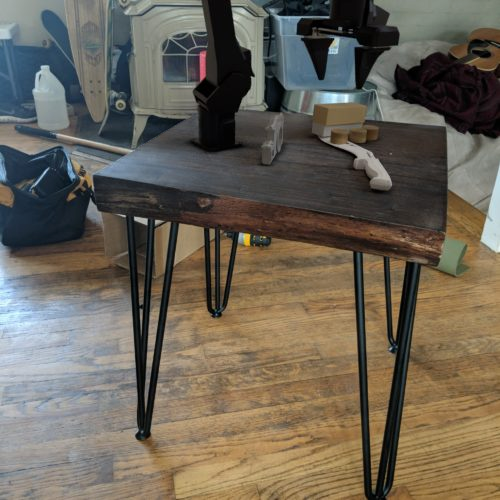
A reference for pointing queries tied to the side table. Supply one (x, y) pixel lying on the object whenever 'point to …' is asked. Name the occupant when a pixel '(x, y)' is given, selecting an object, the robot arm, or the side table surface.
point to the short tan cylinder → (357, 135)
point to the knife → (366, 164)
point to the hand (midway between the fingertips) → (339, 84)
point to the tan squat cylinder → (339, 136)
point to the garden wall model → (273, 138)
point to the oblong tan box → (337, 117)
